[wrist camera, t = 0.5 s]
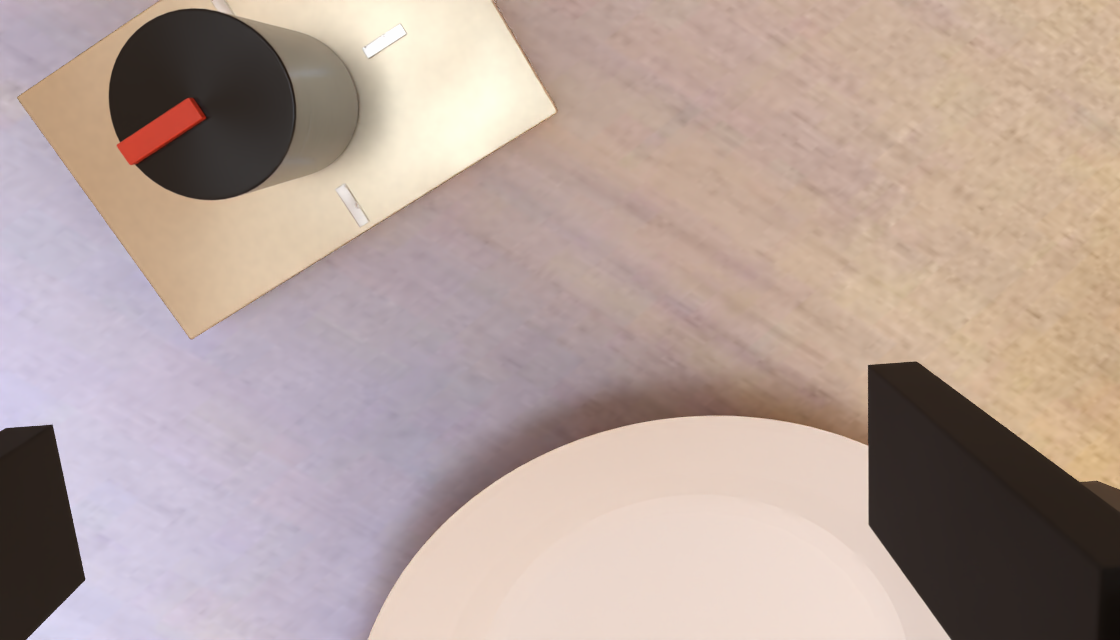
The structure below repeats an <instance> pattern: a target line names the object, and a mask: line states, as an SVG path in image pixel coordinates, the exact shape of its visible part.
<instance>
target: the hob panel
mask: <svg viewBox="0 0 1120 640" xmlns="http://www.w3.org/2000/svg"><path fill="white" fill-rule="evenodd" d="M189 8H200V9H209V10H215V11H219V12H223V13H227V14H231V15H235V16H239V17H243V18H247V19H251V20H255V21H259V22H262V23H266V24H270V25H274V26H278V27H282V28H286V29H290V30H294V31H298V32H301V33H304V34H307V35H310V36H312V37H314V38H316V39H318V40H319V41H321V42H323V43H324V44H326V45H327V46H328V47H329V48H330V49H332V50H333V51H334V52H335V53H336V54H337V55H338V56H339V58H340V59H341V60H342V62H343V63H344V64H345V66H346V67H347V69H348V71H349V73H350V75H351V77H352V79H353V82H354V85H355V88H356V92H357V99H358V118H357V124H356V128H355V132H354V134H353V136H352V139H351V141H350V143H349V144H348V146H347V148H346V149H345V150H344V152H343V153H342V154H341V156H339V157H338V158H337V159H336V160H335V161H334V162H333V163H332V164H330V165H329V166H328V167H326V168H324V169H322V170H320V171H318V172H316V173H313V174H310V175H307V176H304V177H300V178H297V179H294V180H290V181H287V182H284V183H280V184H277V185H274V186H270V187H267V188H264V189H260V190H257V191H254V192H251V193H247V194H244V195H241V196H237V197H233V198H229V199H224V200H198V199H192V198H188V197H184V196H181V195H178V194H175V193H173V192H171V191H169V190H167V189H165V188H163V187H161V186H160V185H158V184H156V183H155V182H153V181H152V180H151V179H150V178H148V177H147V176H146V175H145V174H144V173H143V172H142V171H141V170H140V169H139V168H138V167H137V166H136V165H129V163H128V162H127V160H126V159H125V158H124V156H123V155H122V153H121V152H120V150H119V149H118V148H117V146H116V145H117V144H118V143H120V141H119V139H118V137H117V135H116V133H115V130H114V127H113V123H112V120H111V115H110V109H109V83H110V78H111V73H112V69H113V67H114V64H115V61H116V59H117V57H118V55H119V53H120V51H121V49H122V47H123V46H124V44H125V43H126V42H127V40H128V39H129V38H130V37H131V36H132V35H133V34H134V33H135V31H136V30H138V29H139V28H140V27H141V26H143V25H144V24H145V23H147V22H148V21H150V20H152V19H154V18H155V17H157V16H160V15H162V14H165V13H167V12H171V11H175V10H179V9H189ZM17 99H18V100H19V102H20V103H21V104H22V106H23V107H24V109H25V110H26V111H27V113H28V114H29V115H30V117H31V118H32V120H33V121H34V122H35V124H36V125H37V127H38V128H39V129H40V131H41V132H42V134H43V135H44V136H45V138H46V139H47V141H48V142H49V143H50V145H51V146H52V147H53V149H54V150H55V152H56V153H57V154H58V156H59V157H60V159H61V160H62V161H63V163H64V164H65V166H66V167H67V168H68V170H69V171H70V173H71V174H72V175H73V177H74V178H75V180H76V181H77V182H78V184H79V185H80V186H81V188H82V189H83V191H84V192H85V193H86V195H87V196H88V198H89V199H90V200H91V202H92V203H93V205H94V206H95V207H96V209H97V210H98V212H99V213H100V214H101V216H102V217H103V219H104V220H105V221H106V223H107V224H108V225H109V227H110V228H111V230H112V231H113V232H114V234H115V235H116V237H117V238H118V239H119V241H120V242H121V244H122V245H123V246H124V248H125V249H126V251H127V252H128V253H129V255H130V256H131V257H132V259H133V260H134V262H135V263H136V264H137V266H138V267H139V269H140V270H141V271H142V273H143V274H144V276H145V277H146V278H147V280H148V281H149V283H150V284H151V285H152V287H153V288H154V290H155V291H156V292H157V294H158V295H159V296H160V298H161V299H162V301H163V302H164V303H165V305H166V306H167V308H168V309H169V310H170V312H171V313H172V315H173V316H174V317H175V319H176V320H177V322H178V323H179V324H180V326H181V327H182V328H183V330H184V331H185V333H186V334H187V335H188V337H189V338H190V339H194V338H195V337H197V336H198V335H200V334H202V333H203V332H205V331H206V330H208V329H210V328H211V327H213V326H214V325H216V324H218V323H219V322H221V321H222V320H224V319H226V318H227V317H229V316H231V315H232V314H234V313H235V312H237V311H239V310H240V309H242V308H243V307H245V306H247V305H248V304H250V303H251V302H253V301H255V300H256V299H258V298H260V297H261V296H263V295H264V294H266V293H268V292H269V291H271V290H272V289H274V288H276V287H277V286H279V285H280V284H282V283H284V282H285V281H287V280H289V279H290V278H292V277H293V276H295V275H297V274H298V273H300V272H301V271H303V270H305V269H306V268H308V267H309V266H311V265H313V264H314V263H316V262H318V261H319V260H321V259H322V258H324V257H326V256H327V255H329V254H330V253H332V252H334V251H335V250H337V249H338V248H340V247H342V246H343V245H345V244H347V243H348V242H350V241H351V240H353V239H355V238H356V237H358V236H359V235H361V234H363V233H364V232H366V231H367V230H369V229H371V228H372V227H374V226H375V225H377V224H379V223H380V222H382V221H384V220H385V219H387V218H388V217H390V216H392V215H393V214H395V213H396V212H398V211H400V210H401V209H403V208H404V207H406V206H408V205H409V204H411V203H413V202H414V201H416V200H417V199H419V198H421V197H422V196H424V195H425V194H427V193H429V192H430V191H432V190H433V189H435V188H437V187H438V186H440V185H442V184H443V183H445V182H446V181H448V180H450V179H451V178H453V177H454V176H456V175H458V174H459V173H461V172H462V171H464V170H466V169H467V168H469V167H471V166H472V165H474V164H475V163H477V162H479V161H480V160H482V159H483V158H485V157H487V156H488V155H490V154H491V153H493V152H495V151H496V150H498V149H500V148H501V147H503V146H504V145H506V144H508V143H509V142H511V141H512V140H514V139H516V138H517V137H519V136H520V135H522V134H524V133H525V132H527V131H528V130H530V129H532V128H533V127H535V126H537V125H538V124H540V123H541V122H543V121H545V120H546V119H548V118H549V117H551V116H553V115H554V114H556V113H557V112H558V109H557V107H556V106H555V104H554V102H553V101H552V99H551V97H550V96H549V94H548V92H547V91H546V89H545V87H544V85H543V84H542V82H541V80H540V79H539V77H538V75H537V74H536V72H535V70H534V69H533V67H532V65H531V64H530V62H529V60H528V58H527V57H526V55H525V53H524V52H523V50H522V48H521V47H520V45H519V43H518V42H517V40H516V38H515V36H514V35H513V33H512V31H511V30H510V28H509V26H508V25H507V23H506V21H505V20H504V18H503V16H502V15H501V13H500V11H499V9H498V8H497V6H496V4H495V3H494V1H493V0H159V1H158V2H157V3H155V4H154V5H152V6H151V7H149V8H148V9H146V10H145V11H143V12H142V13H140V14H139V15H137V16H136V17H134V18H133V19H131V20H130V21H129V22H127V23H126V24H124V25H123V26H121V27H120V28H118V29H117V30H115V31H114V32H112V33H111V34H109V35H108V36H106V37H105V38H103V39H102V40H100V41H99V42H98V43H96V44H95V45H93V46H92V47H90V48H89V49H87V50H86V51H84V52H83V53H81V54H80V55H78V56H77V57H75V58H74V59H72V60H71V61H69V62H68V63H67V64H65V65H64V66H62V67H61V68H59V69H58V70H56V71H55V72H53V73H52V74H50V75H49V76H47V77H46V78H44V79H43V80H41V81H40V82H39V83H37V84H36V85H34V86H33V87H31V88H30V89H28V90H27V91H25V92H24V93H22V94H21V95H19V96H18V97H17Z"/></svg>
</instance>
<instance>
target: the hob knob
mask: <svg viewBox="0 0 1120 640" xmlns="http://www.w3.org/2000/svg"><path fill="white" fill-rule="evenodd" d="M109 109H110V115H111V120H112V123H113V127H114V130H115V133H116V135H117V137H118V139H119V141H120V143H118V144H117V145H116V146H117V148H118V149H119V150H120V152H121V153H122V155H123V156H124V158H125V159H126V160H127V162H128V163H129V165H136V166H137V167H138V168H139V169H140V170H141V171H142V172H143V173H144V174H145V175H146V176H147V177H148V178H150V179H151V180H152V181H153V182H155V183H156V184H158V185H160V186H161V187H163V188H165V189H167V190H169V191H171V192H173V193H175V194H178V195H181V196H184V197H188V198H192V199H198V200H224V199H229V198H233V197H237V196H241V195H244V194H247V193H251V192H254V191H257V190H260V189H264V188H267V187H270V186H274V185H277V184H280V183H284V182H287V181H290V180H294V179H297V178H300V177H304V176H307V175H310V174H313V173H316V172H318V171H320V170H322V169H324V168H326V167H328V166H329V165H330V164H332V163H333V162H334V161H335V160H336V159H337V158H338V157H339V156H341V154H342V153H343V152H344V150H345V149H346V148H347V146H348V144H349V143H350V141H351V139H352V136H353V134H354V132H355V128H356V124H357V118H358V99H357V92H356V88H355V85H354V82H353V79H352V77H351V75H350V73H349V71H348V69H347V67H346V66H345V64H344V63H343V62H342V60H341V59H340V58H339V56H338V55H337V54H336V53H335V52H334V51H333V50H332V49H330V48H329V47H328V46H327V45H326V44H324V43H323V42H321V41H319V40H318V39H316V38H314V37H312V36H310V35H307V34H304V33H301V32H298V31H294V30H290V29H286V28H282V27H278V26H274V25H270V24H266V23H262V22H259V21H255V20H251V19H247V18H243V17H239V16H235V15H231V14H227V13H223V12H219V11H215V10H209V9H200V8H189V9H179V10H175V11H171V12H167V13H165V14H162V15H160V16H157V17H155V18H154V19H152V20H150V21H148V22H147V23H145V24H144V25H143V26H141V27H140V28H139V29H138V30H136V31H135V33H134V34H133V35H132V36H131V37H130V38H129V39H128V40H127V42H126V43H125V44H124V46H123V47H122V49H121V51H120V53H119V55H118V57H117V59H116V61H115V64H114V67H113V69H112V73H111V78H110V83H109Z"/></svg>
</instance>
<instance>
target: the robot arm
mask: <svg viewBox="0 0 1120 640" xmlns="http://www.w3.org/2000/svg"><path fill="white" fill-rule="evenodd" d="M868 525H869V526H870V528H871V529H872V531H873V532H874V533H875V535H876V536H877V537H878V539H879V540H880V542H881V543H882V544H883V546H884V547H885V549H886V550H887V551H888V553H889V554H890V556H891V557H892V558H893V560H894V561H895V562H896V564H897V565H898V567H899V568H900V569H901V571H902V572H903V574H904V575H905V576H906V578H907V579H908V581H909V582H910V583H911V585H912V586H913V587H914V589H915V590H916V592H917V593H918V594H919V596H920V597H921V599H922V600H923V601H924V603H925V604H926V606H927V607H928V608H929V610H930V611H931V612H932V614H933V615H934V617H935V618H936V619H937V621H938V622H939V624H940V625H941V626H942V628H943V629H944V631H945V632H946V633H947V635H948V636H949V637H950V639H951V640H1120V490H1119V489H1117V488H1114V487H1111V486H1109V485H1106V484H1104V483H1101V482H1098V481H1089V482H1079V481H1077V480H1076V479H1074V478H1073V477H1072V476H1070V475H1069V474H1068V473H1066V472H1065V471H1064V470H1062V469H1061V468H1060V467H1058V466H1057V465H1056V464H1054V463H1053V462H1052V461H1050V460H1049V459H1047V458H1046V457H1045V456H1043V455H1042V454H1041V453H1039V452H1038V451H1037V450H1035V449H1034V448H1033V447H1031V446H1030V445H1029V444H1027V443H1026V442H1025V441H1023V440H1022V439H1021V438H1019V437H1018V436H1016V435H1015V434H1014V433H1012V432H1011V431H1010V430H1008V429H1007V428H1006V427H1004V426H1003V425H1002V424H1000V423H999V422H998V421H996V420H995V419H994V418H992V417H991V416H989V415H988V414H987V413H985V412H984V411H983V410H981V409H980V408H979V407H977V406H976V405H975V404H973V403H972V402H971V401H969V400H968V399H967V398H965V397H964V396H962V395H961V394H960V393H958V392H957V391H956V390H954V389H953V388H952V387H950V386H949V385H948V384H946V383H945V382H944V381H942V380H941V379H940V378H938V377H937V376H935V375H934V374H933V373H931V372H930V371H929V370H927V369H926V368H925V367H923V366H922V365H921V364H919V363H918V362H903V363H890V364H876V365H868ZM84 581H85V576H84V571H83V566H82V561H81V557H80V552H79V547H78V542H77V538H76V533H75V528H74V524H73V519H72V514H71V509H70V505H69V500H68V495H67V491H66V486H65V481H64V476H63V472H62V467H61V462H60V457H59V453H58V448H57V443H56V439H55V434H54V429H53V425H42V426H29V427H15V428H5V429H4V430H2V431H0V640H26V639H27V638H28V637H29V636H30V635H31V634H32V633H33V632H34V631H35V630H36V629H37V628H38V627H39V626H40V625H41V624H42V623H43V622H44V621H45V620H46V619H47V618H48V617H49V616H50V615H51V614H52V613H53V612H54V611H55V610H56V609H57V608H58V607H59V606H60V605H61V604H62V603H63V602H64V601H65V600H66V599H67V598H68V597H69V596H70V595H71V594H72V593H73V592H74V591H75V590H76V589H77V588H78V587H79V586H80V585H81V584H82V583H83V582H84Z"/></svg>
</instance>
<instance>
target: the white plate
mask: <svg viewBox="0 0 1120 640" xmlns="http://www.w3.org/2000/svg"><path fill="white" fill-rule="evenodd" d="M368 640H951V639H950V637H949V636H948V635H947V633H946V632H945V631H944V629H943V628H942V626H941V625H940V624H939V622H938V621H937V619H936V618H935V617H934V615H933V614H932V612H931V611H930V610H929V608H928V607H927V606H926V604H925V603H924V601H923V600H922V599H921V597H920V596H919V594H918V593H917V592H916V590H915V589H914V587H913V586H912V585H911V583H910V582H909V581H908V579H907V578H906V576H905V575H904V574H903V572H902V571H901V569H900V568H899V567H898V565H897V564H896V562H895V561H894V560H893V558H892V557H891V556H890V554H889V553H888V551H887V550H886V549H885V547H884V546H883V544H882V543H881V542H880V540H879V539H878V537H877V536H876V535H875V533H874V532H873V531H872V529H871V528H870V526H869V525H868V446H867V445H865V444H863V443H860V442H857V441H855V440H852V439H849V438H847V437H844V436H841V435H838V434H834V433H831V432H828V431H825V430H821V429H817V428H813V427H809V426H805V425H800V424H795V423H791V422H785V421H779V420H772V419H764V418H755V417H742V416H691V417H677V418H669V419H661V420H654V421H648V422H642V423H637V424H632V425H628V426H623V427H619V428H615V429H612V430H608V431H604V432H601V433H597V434H594V435H591V436H588V437H585V438H582V439H579V440H577V441H574V442H571V443H569V444H566V445H564V446H561V447H559V448H557V449H554V450H552V451H550V452H548V453H546V454H543V455H541V456H539V457H537V458H535V459H533V460H531V461H529V462H528V463H526V464H524V465H522V466H520V467H518V468H517V469H515V470H513V471H512V472H510V473H508V474H507V475H505V476H503V477H502V478H500V479H499V480H497V481H496V482H494V483H493V484H491V485H490V486H488V487H487V488H486V489H484V490H483V491H482V492H480V493H479V494H477V495H476V496H475V497H473V498H472V499H471V500H470V501H469V502H467V503H466V504H465V505H464V506H463V507H461V508H460V509H459V510H458V511H457V512H456V513H455V514H453V515H452V516H451V517H450V518H449V519H448V520H447V521H446V522H445V523H444V524H443V525H442V526H441V527H440V528H439V529H438V530H437V531H436V532H435V533H434V534H433V535H432V536H431V537H430V538H429V540H428V541H427V542H426V543H425V544H424V545H423V546H422V548H421V549H420V550H419V551H418V553H417V554H416V555H415V556H414V558H413V559H412V560H411V561H410V563H409V564H408V566H407V567H406V568H405V570H404V571H403V573H402V574H401V576H400V577H399V579H398V580H397V582H396V583H395V585H394V586H393V588H392V590H391V592H390V593H389V595H388V597H387V599H386V600H385V602H384V604H383V606H382V608H381V610H380V612H379V614H378V616H377V619H376V621H375V623H374V626H373V628H372V630H371V633H370V635H369V638H368Z"/></svg>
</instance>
